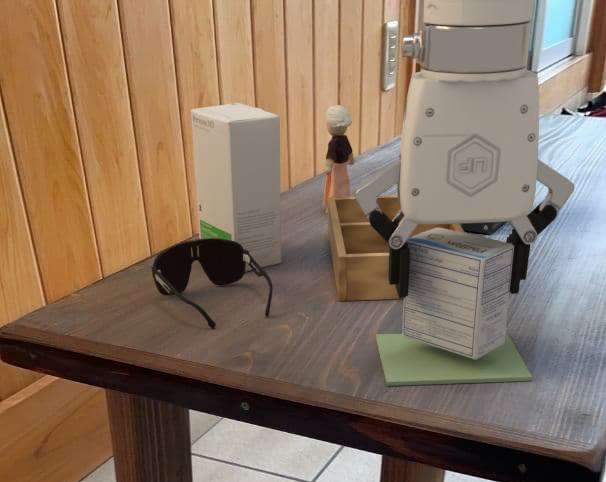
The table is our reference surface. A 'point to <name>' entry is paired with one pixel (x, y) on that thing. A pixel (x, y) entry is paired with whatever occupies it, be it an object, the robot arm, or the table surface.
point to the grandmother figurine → (337, 154)
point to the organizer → (364, 249)
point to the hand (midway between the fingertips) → (455, 289)
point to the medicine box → (458, 291)
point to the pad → (446, 363)
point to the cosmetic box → (239, 178)
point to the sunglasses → (204, 267)
